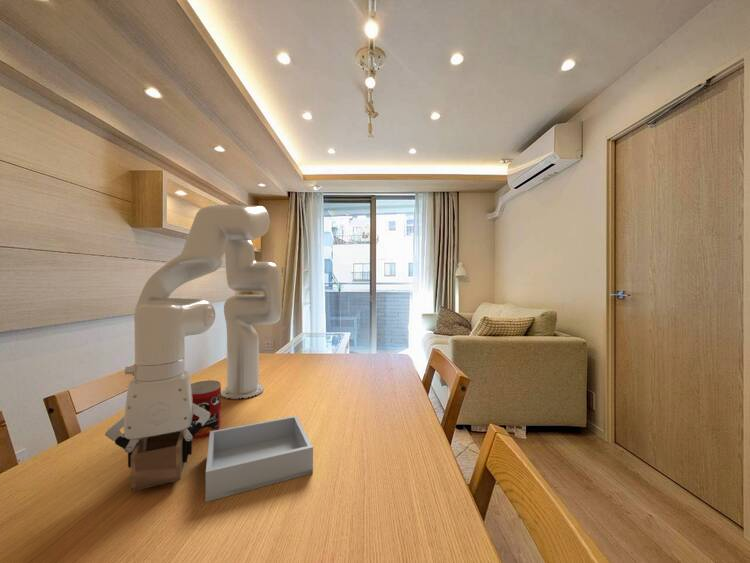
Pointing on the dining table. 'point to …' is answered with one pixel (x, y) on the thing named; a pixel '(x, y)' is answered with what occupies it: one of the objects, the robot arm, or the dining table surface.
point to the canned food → (207, 405)
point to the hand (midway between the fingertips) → (161, 463)
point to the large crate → (256, 456)
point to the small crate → (157, 461)
